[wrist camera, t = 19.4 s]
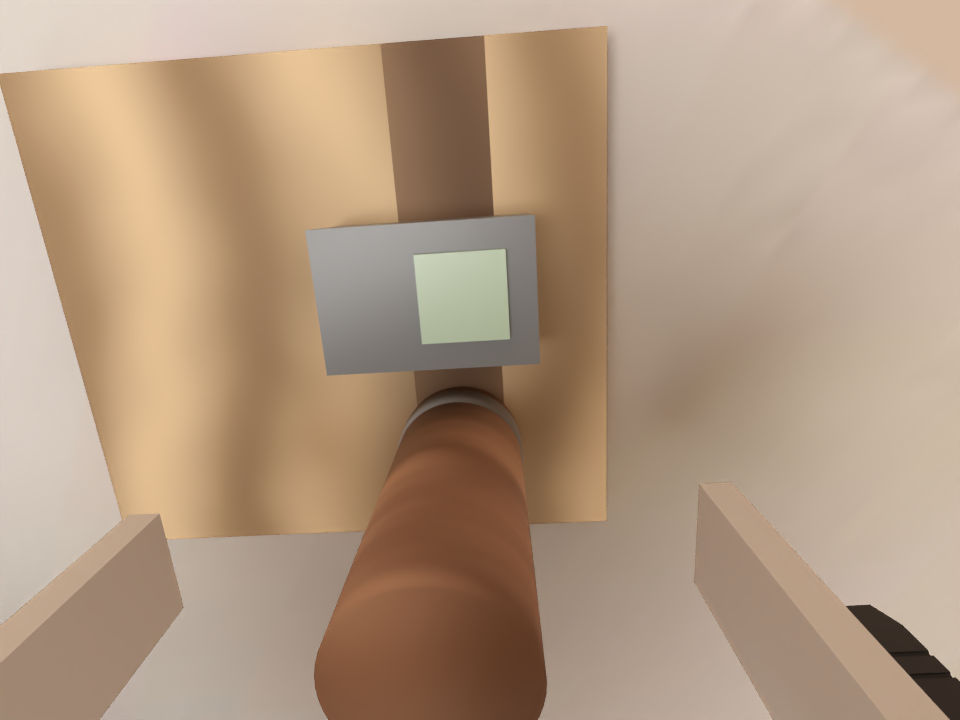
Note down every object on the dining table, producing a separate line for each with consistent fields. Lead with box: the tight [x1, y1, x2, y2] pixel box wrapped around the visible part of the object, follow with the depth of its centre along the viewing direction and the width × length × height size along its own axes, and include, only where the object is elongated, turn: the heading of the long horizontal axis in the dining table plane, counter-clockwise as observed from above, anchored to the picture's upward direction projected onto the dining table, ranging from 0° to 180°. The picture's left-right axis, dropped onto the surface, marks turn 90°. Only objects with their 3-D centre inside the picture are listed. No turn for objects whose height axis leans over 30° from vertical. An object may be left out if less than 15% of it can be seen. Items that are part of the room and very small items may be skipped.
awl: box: [314, 387, 547, 720], centre depth 14 cm, size 4×4×10 cm
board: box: [0, 26, 607, 539], centre depth 18 cm, size 18×16×1 cm
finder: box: [305, 213, 540, 376], centre depth 16 cm, size 6×4×3 cm, turn 94°
